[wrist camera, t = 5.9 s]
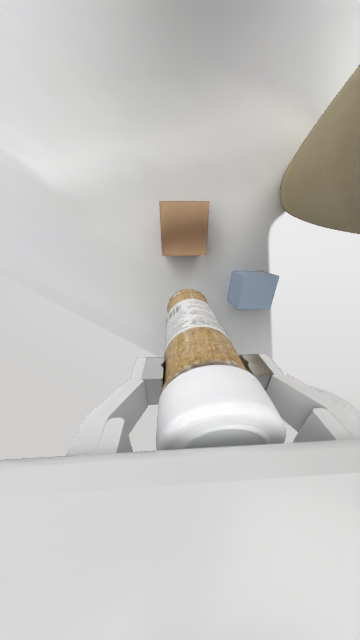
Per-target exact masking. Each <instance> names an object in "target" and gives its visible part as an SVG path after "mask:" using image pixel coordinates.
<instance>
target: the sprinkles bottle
mask: <svg viewBox="0 0 360 640" xmlns="http://www.w3.org/2000/svg"><path fill="white" fill-rule="evenodd" d="M167 310H168V316H167V325H166V337H165V351H164V358H165V373H164V386H163V388H162V393H161V396H160V399H159V404H158V417H157V435H156V448H157V451H159V450H176V449H193V448H210V447H227V446H244V445H261V444H278V443H284V441H285V437H286V429H285V425H284V422H283V420H282V418H281V416H280V414H279V413H278V411H277V409H276V408H275V406H274V404H273V403H272V401H271V399H270V398H269V396H268V394H267V393H266V391H265V390H264V388H263V387H262V385H261V384H260V382H259V381H258V379H257V378H256V377H255V376H253V375H252V374H251V373H250V372H249V371H248V370H247V369H246V368H245V366H244V364H243V362H242V361H241V359H240V358H239V356H238V354H237V352H236V351H235V349H234V347H233V345H232V343H231V341H230V339H229V337H228V336H227V334H226V332H225V331H224V329H223V327H222V326H221V324H220V323H219V321H218V319H217V318H216V316H215V314H214V313H213V311H212V309H211V308H210V307H209V306H208V304H207V301H206V299H205V297H204V296H203V295H202V294H201V293H200V292H198V291H196V290H193V289H184V290H181V291H178V292H176V293H175V294H174V295H173V296H172V298H171V299H170V300H169V303H168V307H167Z"/></svg>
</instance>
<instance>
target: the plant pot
mask: <svg viewBox="0 0 360 640" xmlns="http://www.w3.org/2000/svg"><path fill="white" fill-rule="evenodd" d="M280 199H281V203H282V206H283V208H284V209H285V211H286V212H287V213H289V214H290V215H292V216H294V217H297V218H298V219H301V220H303V221H306V222H309V223H312V224H315V225H318V226H322V227H326V228H330V229H335V230H340V231H345V232H351V233H357V234H360V65H359V66H358V68H357V69H356V70H355V72H354V73H353V74H352V76H351V77H350V78H349V79H348V81H347V82H346V83H345V85H344V86H343V87H342V89H341V90H340V91H339V93H338V94H337V95H336V97H335V98H334V99H333V101H332V102H331V103H330V105H329V106H328V107H327V109H326V110H325V112H324V113H323V115H322V116H321V117H320V119H319V120H318V122H317V123H316V124H315V126H314V127H313V129H312V130H311V132H310V133H309V135H308V136H307V138H306V139H305V141H304V142H303V144H302V145H301V147H300V148H299V150H298V151H297V153H296V155H295V156H294V158H293V159H292V161H291V163H290V165H289V166H288V168H287V170H286V172H285V174H284V176H283V179H282V183H281V187H280Z"/></svg>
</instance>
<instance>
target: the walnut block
mask: <svg viewBox="0 0 360 640" xmlns="http://www.w3.org/2000/svg"><path fill="white" fill-rule="evenodd" d="M208 215H209V201H160V221H161V241H162V256H183V255H206V245H207V230H208Z"/></svg>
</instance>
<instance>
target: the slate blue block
mask: <svg viewBox="0 0 360 640" xmlns="http://www.w3.org/2000/svg"><path fill="white" fill-rule="evenodd" d="M278 279H279V276H277V275H274V274H270V273H267V272H263V271H232V274H231V281H230V288H229V294H228V300H229V301H230V302H231V303H232V304H233V305H234V306H235V307H236V308H237V309H238V310H246V309H270V307H271V304H272V300H273V296H274V293H275V289H276V286H277V283H278Z"/></svg>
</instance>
